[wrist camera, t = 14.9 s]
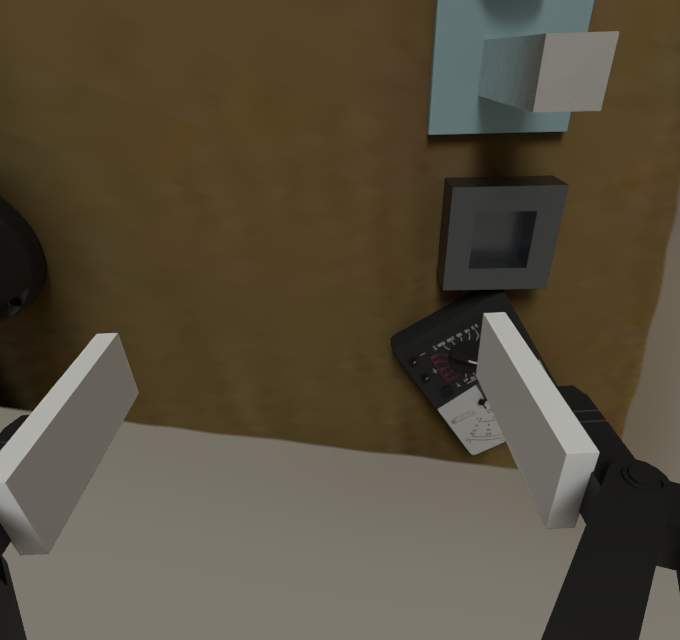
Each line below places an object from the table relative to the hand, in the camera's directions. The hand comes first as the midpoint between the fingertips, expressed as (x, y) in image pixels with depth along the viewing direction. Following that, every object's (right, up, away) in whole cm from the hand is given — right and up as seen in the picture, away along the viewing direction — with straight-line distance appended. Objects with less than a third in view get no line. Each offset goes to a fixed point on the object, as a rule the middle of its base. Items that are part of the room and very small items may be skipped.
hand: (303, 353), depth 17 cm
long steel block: (+15, +22, +21) cm, 34 cm away
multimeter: (+18, -4, +38) cm, 42 cm away
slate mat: (+15, +22, +22) cm, 35 cm away
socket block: (+16, +10, +29) cm, 35 cm away
